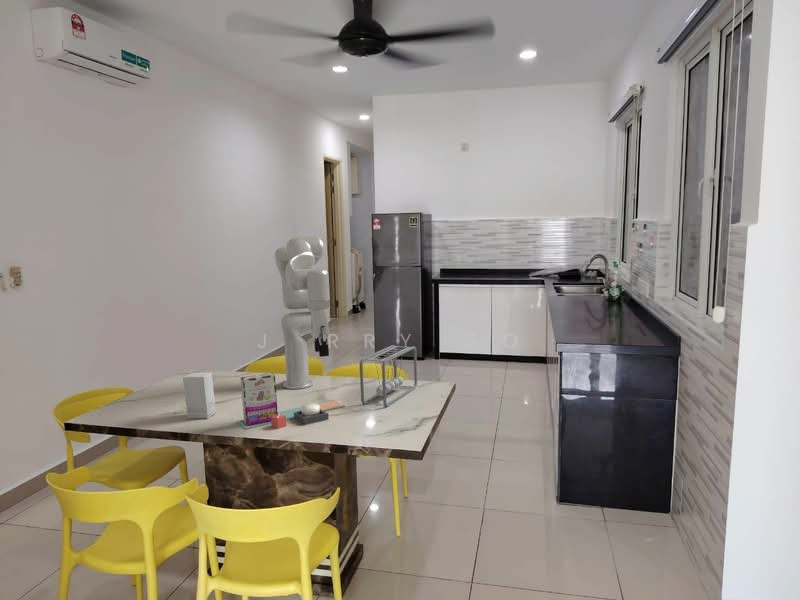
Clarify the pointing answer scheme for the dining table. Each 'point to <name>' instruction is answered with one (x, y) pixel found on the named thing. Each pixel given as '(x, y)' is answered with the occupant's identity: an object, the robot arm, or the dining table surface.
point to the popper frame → (312, 419)
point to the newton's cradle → (394, 382)
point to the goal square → (330, 405)
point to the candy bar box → (259, 398)
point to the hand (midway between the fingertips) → (321, 353)
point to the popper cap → (310, 409)
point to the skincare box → (199, 395)
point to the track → (287, 413)
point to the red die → (278, 421)
